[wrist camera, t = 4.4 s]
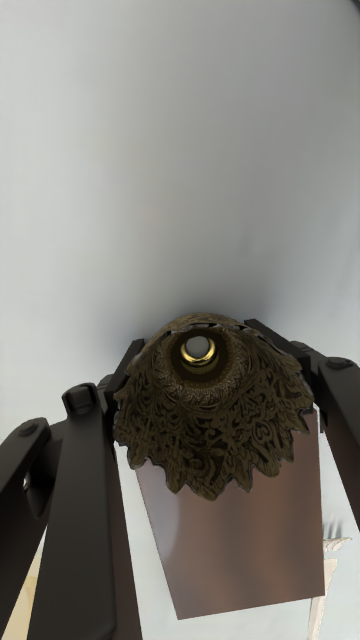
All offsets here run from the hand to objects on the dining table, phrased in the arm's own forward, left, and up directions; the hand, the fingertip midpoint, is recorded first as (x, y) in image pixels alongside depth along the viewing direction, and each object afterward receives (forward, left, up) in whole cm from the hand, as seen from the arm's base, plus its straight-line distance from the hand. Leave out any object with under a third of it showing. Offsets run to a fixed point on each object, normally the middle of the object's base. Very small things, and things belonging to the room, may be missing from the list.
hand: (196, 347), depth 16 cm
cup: (0, 0, 0) cm, 0 cm away
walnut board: (-1, +16, -1) cm, 16 cm away
